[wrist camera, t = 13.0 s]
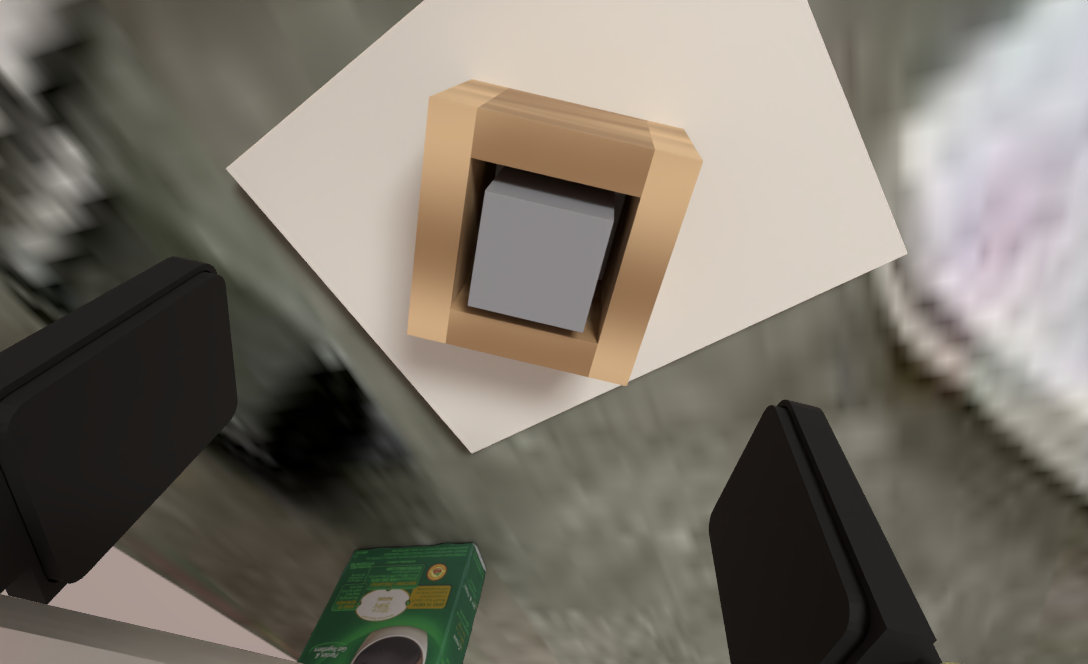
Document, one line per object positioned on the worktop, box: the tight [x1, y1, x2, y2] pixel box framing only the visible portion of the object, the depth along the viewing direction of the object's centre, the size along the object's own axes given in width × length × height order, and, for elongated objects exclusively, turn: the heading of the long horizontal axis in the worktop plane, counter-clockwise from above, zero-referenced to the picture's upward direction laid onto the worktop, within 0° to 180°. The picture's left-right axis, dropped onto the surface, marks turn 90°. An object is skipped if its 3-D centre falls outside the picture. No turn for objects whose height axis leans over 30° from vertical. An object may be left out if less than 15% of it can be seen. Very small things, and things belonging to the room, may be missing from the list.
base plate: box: [226, 0, 908, 453], centre depth 19 cm, size 20×16×7 cm
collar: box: [407, 79, 703, 386], centre depth 19 cm, size 7×7×5 cm
